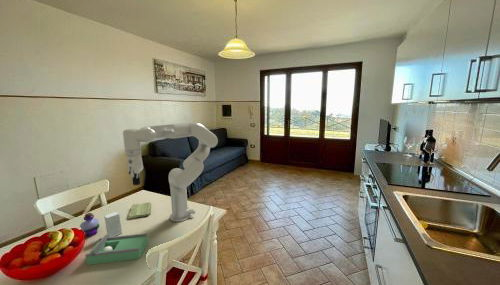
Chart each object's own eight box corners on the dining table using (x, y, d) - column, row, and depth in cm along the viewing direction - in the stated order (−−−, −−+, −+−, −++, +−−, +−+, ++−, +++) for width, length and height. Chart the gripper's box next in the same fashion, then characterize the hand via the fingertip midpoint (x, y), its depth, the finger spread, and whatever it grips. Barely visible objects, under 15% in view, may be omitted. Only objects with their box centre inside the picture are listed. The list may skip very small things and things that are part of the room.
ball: (112, 253, 100) (115, 246, 100) (107, 258, 96) (110, 251, 96) (104, 250, 100) (107, 243, 100) (99, 255, 96) (102, 248, 96)
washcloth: (127, 220, 128) (126, 216, 128) (131, 208, 144) (131, 203, 144) (150, 216, 133) (150, 212, 132) (152, 204, 149) (152, 200, 149)
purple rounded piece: (102, 233, 115) (99, 214, 113) (82, 240, 109) (79, 220, 107) (99, 227, 121) (96, 208, 119) (80, 233, 115) (77, 213, 113)
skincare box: (119, 230, 118) (116, 211, 116) (122, 233, 115) (119, 213, 113) (106, 235, 113) (104, 215, 111) (109, 238, 110) (106, 218, 108)
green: (147, 241, 108) (146, 230, 107) (139, 258, 96) (138, 246, 95) (101, 247, 104) (99, 235, 103) (86, 264, 92) (84, 252, 91)
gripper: (135, 155, 104) (139, 189, 108) (145, 148, 119) (148, 179, 122) (119, 155, 103) (123, 190, 106) (131, 149, 118) (134, 180, 121)
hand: (136, 184), depth 114 cm, fingers closed
